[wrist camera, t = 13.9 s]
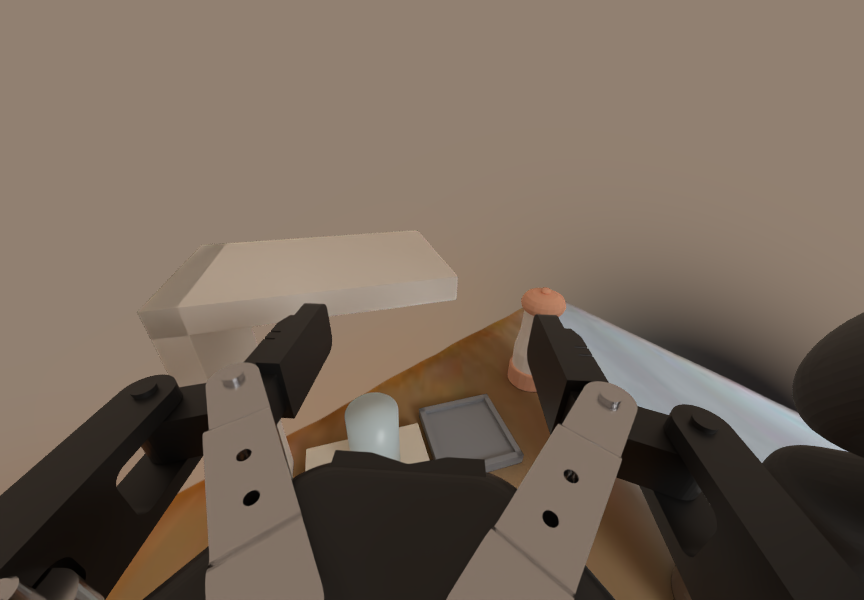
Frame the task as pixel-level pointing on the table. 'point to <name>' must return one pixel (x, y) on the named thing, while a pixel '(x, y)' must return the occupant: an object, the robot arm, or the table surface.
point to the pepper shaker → (532, 304)
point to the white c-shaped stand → (288, 302)
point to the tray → (470, 432)
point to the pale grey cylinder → (373, 425)
